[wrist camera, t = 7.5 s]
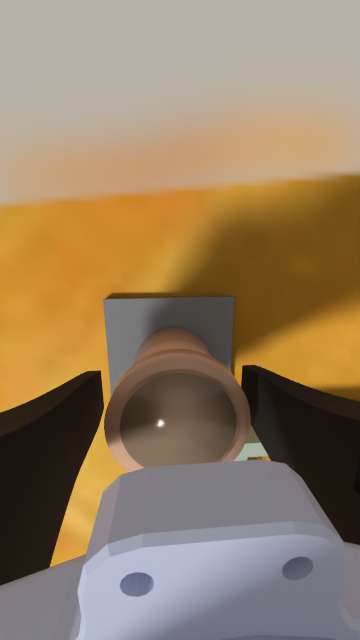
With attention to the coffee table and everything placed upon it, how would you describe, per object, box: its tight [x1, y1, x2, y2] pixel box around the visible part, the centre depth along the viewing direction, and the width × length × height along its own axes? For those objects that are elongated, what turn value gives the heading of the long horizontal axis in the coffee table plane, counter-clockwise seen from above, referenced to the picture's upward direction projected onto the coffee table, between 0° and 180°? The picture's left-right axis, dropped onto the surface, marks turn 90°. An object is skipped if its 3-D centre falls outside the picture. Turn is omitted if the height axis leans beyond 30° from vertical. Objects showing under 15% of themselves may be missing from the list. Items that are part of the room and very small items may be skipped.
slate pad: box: [103, 296, 234, 396], centre depth 15 cm, size 8×8×1 cm
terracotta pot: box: [104, 327, 251, 472], centre depth 12 cm, size 6×6×6 cm
